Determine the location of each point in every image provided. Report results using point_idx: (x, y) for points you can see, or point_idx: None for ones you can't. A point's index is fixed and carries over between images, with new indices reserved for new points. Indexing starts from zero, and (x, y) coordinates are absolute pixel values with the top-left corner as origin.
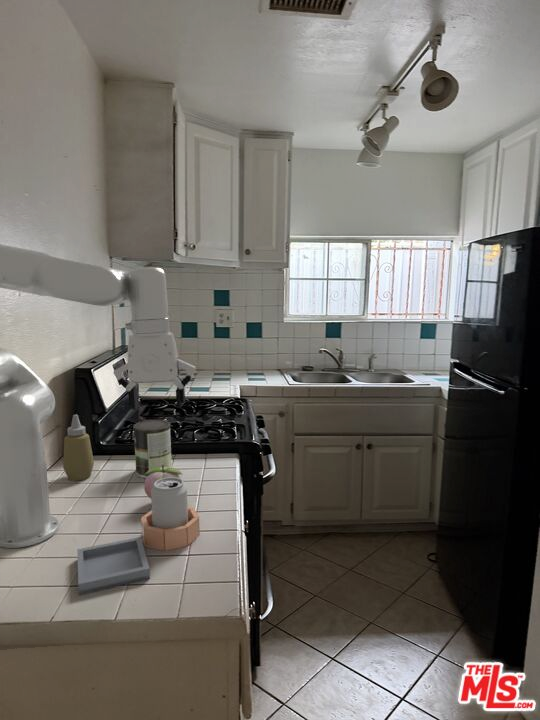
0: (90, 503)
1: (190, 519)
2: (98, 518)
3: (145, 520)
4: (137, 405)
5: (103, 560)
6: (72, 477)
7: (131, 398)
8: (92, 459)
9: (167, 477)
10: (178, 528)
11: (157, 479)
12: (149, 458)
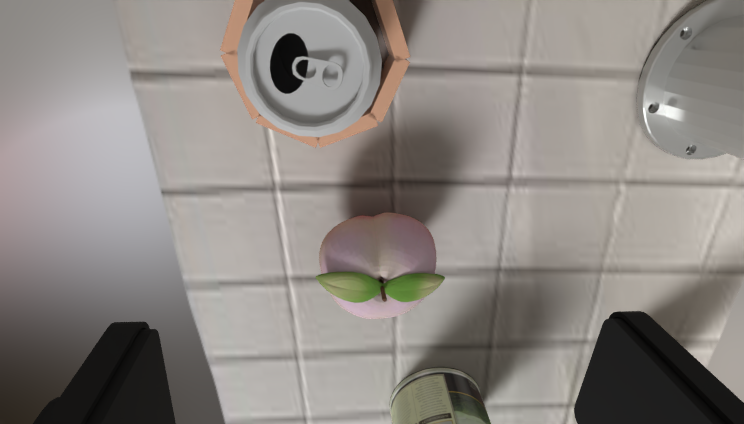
0: (570, 238)
1: None
2: (538, 156)
3: (392, 38)
4: (593, 389)
5: None
6: None
7: (730, 399)
8: None
9: (326, 128)
10: None
11: (393, 244)
12: (450, 413)
